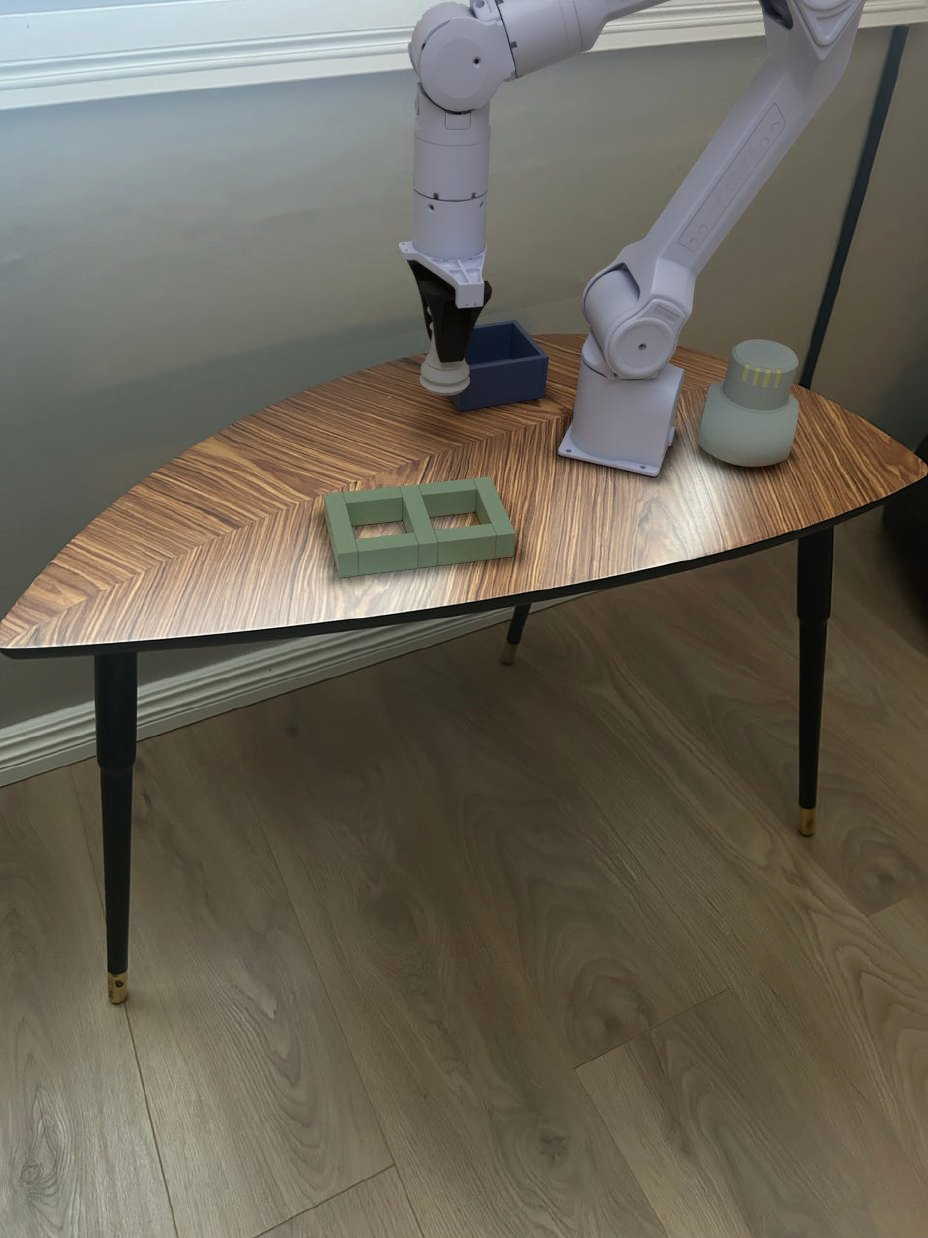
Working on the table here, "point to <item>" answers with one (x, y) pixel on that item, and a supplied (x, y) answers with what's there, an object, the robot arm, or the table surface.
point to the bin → (502, 367)
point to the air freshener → (752, 406)
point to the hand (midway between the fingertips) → (446, 349)
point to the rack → (417, 526)
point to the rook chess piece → (443, 373)
